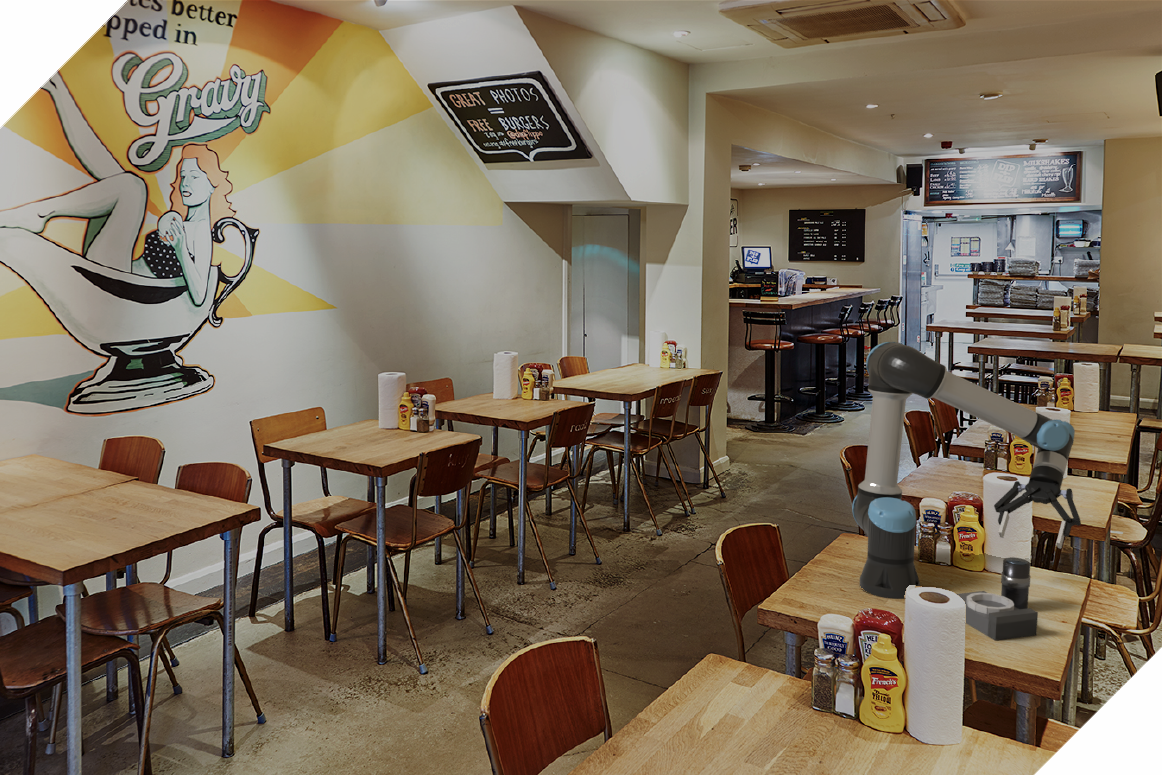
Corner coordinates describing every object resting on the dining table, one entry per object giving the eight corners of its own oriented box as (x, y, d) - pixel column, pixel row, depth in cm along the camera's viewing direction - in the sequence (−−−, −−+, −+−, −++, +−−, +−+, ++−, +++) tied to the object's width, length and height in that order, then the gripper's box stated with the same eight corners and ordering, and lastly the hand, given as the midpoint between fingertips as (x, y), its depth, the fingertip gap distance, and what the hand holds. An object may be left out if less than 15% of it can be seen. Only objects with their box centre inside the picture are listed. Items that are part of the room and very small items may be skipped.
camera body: (944, 610, 212) (945, 589, 211) (983, 606, 214) (984, 584, 213) (995, 640, 194) (996, 617, 194) (1036, 635, 197) (1037, 612, 196)
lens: (994, 604, 215) (996, 557, 213) (1015, 601, 216) (1018, 555, 215) (1012, 614, 209) (1014, 566, 207) (1034, 611, 210) (1037, 563, 209)
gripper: (1103, 487, 222) (1086, 557, 213) (1000, 473, 238) (980, 538, 229) (1100, 471, 217) (1082, 542, 208) (995, 458, 233) (975, 523, 224)
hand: (1029, 540), depth 218 cm, fingers open, 13 cm apart
